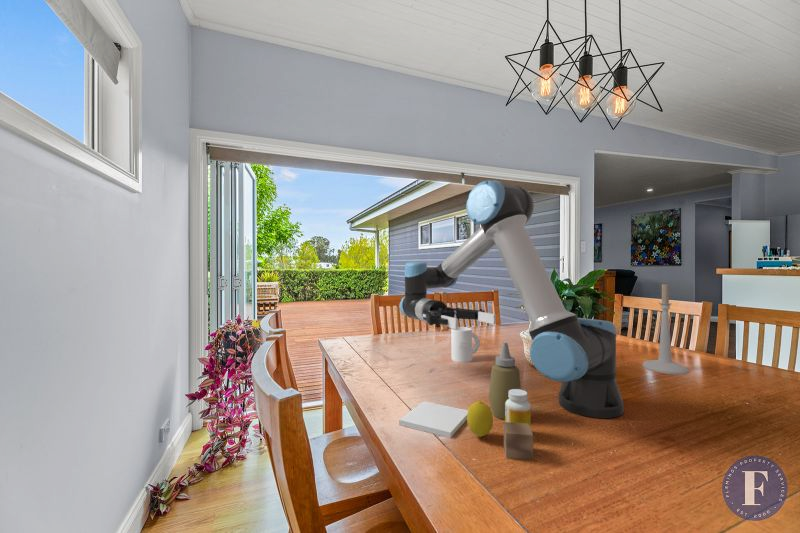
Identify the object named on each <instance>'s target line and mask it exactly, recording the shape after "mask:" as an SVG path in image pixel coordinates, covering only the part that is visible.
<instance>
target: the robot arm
mask: <svg viewBox="0 0 800 533" xmlns="http://www.w3.org/2000/svg"><path fill="white" fill-rule="evenodd" d="M465 206H466V208H465V209H466V214H467V217H468V218H469V219H470V220H471V222H473V223H474V224H476V225H480V227H479V228H478V229H476V231H474V233H472V235H470V236H469V237H468V238H467V239H466V240H465V241H464V242H463V243H461V245H460V246H458V247H457V248H456V249H455V250H453V252H452V253H450V254H449V255H448V256H447V258H445V259H444V260H443V261H442V262H441V263H439V264H438V266H433V267H432V266H431V267H429V266H428V264H427V263H426V262H420V261H419V262H418V261H416V262H414V261H413V262H410V261H409V262H407V263H405V267H404V275H403V276H404V296H403V297H402V298H401V300H400V302H399V304H398V306H399V310H400V313H402V315H403V316H405V317H407V318H410V319H415V320H419V321H422V322H425V324H428V325H429V326H434V325H435V328H440V327H441V326H443V327H447V328H450V329H451V328H453V329H458V327H459V320H460V319H461V320H462V319H463V320H477V321H478V322H482V323H487V324H491V325H496V324H497V314H494V313H490V312H486V310H483V309H482V308H479V309H469V308H461V307H460V308H459V307H456V308H454V307H449V306H447V305H446V304H445V302H443V301H442V300H436V299H433V298H432V299H431V298H427V295H428V294H427V292H428V289H438V288H439V289H441V288H449V287H453V286H454V285H456V283H457V281H458V278H459V276H460V275H461V274H462V273H464V272H465V271H466V270H467V269H468V268H470V267H471V266H472V265H474V264H475V263H476V262H477V261H478V260H480V259H481V258H482V257H483V256H484V255H486V253H488V252H489V251H490V250H492V249H493V247H496V248H497V250H498V252H499V255H500V257H501V260H502V261H503V263H504V266H505V268H506V270H507V272H508V274H509V276H510V278H511V281H512V283H513V285H514V287H515V290H516V292H517V295H518V296H519V299H520V300H521V303H522V305H523V308H524V309H525V312H526V314H527V316H528V319H529V320H530V326H529V329H528V334H529V336H530V338H531V343H530V348H529V356H530V357H529V358H530V359H531V362H532V365H533V366H534V367H535V368H534V369H536V370H537V372H538V373H540V374H541V375H542V376H544V377H545V378H546V379H549V380H551V381H553V382H559V383H562V384H561V386H560V389H559V392H558V404H559V406H561V407H562V408H564V410H567V411H569V412H571V413H574V414H577V415H581V416H584V417H590V418H597V419H612V418H618V417H622V415H623V414H624V412H625V410H624V407H625V406H624V405H625V404H624V400H623V397H622V394H621V392H620V389H619V387H618V383H617V378H616V375H617V374H616V367H617V365H616V364H617V359H616V358H617V356H616V355H617V354H616V353H617V332H616V331H617V330H616V324H614V322H612V321H608V320H601V319H595V318H594V319H593V318H583V317H577V315H576V313H573V312H571V311H568V310H566V308H565V305H564V304H563V301H562V300H561V298H560V296H559V294H558V292H557V289H556V288H555V285H554V283H553V281H552V279H551V277H550V275H549V274H548V271H547V270H546V267H545V265H544V262H542V259H541V257H540V255H539V252H538V251H537V249H536V248H535V245H534V243H533V241H532V238H531V237H530V234H529V233H528V231H527V229H526V224H528V222H529V220H530V219H531V217H532V216H533V213H534V207H535V204H534V200H533V197H532V194H530V192H529V191H528V190H526V188H523V187H521V186H518V185H513V184H508V183H507V182H502V181H501V182H500V181H499V180H484V181H480V182H479V183H477V184H476V185H475V186H474V187H473V188H472V189H471V190H470V192H469V194H468V199H467V200H466V205H465Z"/></svg>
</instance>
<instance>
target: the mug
mask: <svg viewBox="0 0 800 533" xmlns="http://www.w3.org/2000/svg"><path fill="white" fill-rule="evenodd" d="M450 330H451V332H450V339H451V340H450V342H451V343H450V344H451V345H450V348H451V350H450V353H451V354H450V355H451V356H450V357H451V360H452V361H453V362H456V363H470V362H472V361H473V355H474V354H476V352H477V351H478V350H479V348H480V345H481V339H480V338H479V335H477V334H476V333H475V332H473V329H472V328H471V327H467V326H458V329H453V328H450ZM473 340H474V345H473Z"/></svg>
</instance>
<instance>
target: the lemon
mask: <svg viewBox="0 0 800 533" xmlns="http://www.w3.org/2000/svg"><path fill="white" fill-rule="evenodd" d="M467 410H468V414H467V420H466V422H467V427H468V428H469V430H470V432H471V433H473V434H474V435H475V436H477V437H478V438H482V437H484V436H486V435H488V434H489V433H490V431H492V428H493V424H494V417H493V416H494V415H493V411H492V408H491V407H490V406H489V405H488V404H486V403H485V402H484V401H482V400H478V401H476V402H474V403H472V404H471V405H470V406H469V408H468V409H467Z"/></svg>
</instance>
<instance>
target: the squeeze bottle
mask: <svg viewBox="0 0 800 533" xmlns="http://www.w3.org/2000/svg"><path fill="white" fill-rule="evenodd" d="M520 378H521V376H520V370H519V368H518V367H517V366H516V359H515V357H514V356H511V353H510V349H509V343H507V342H502V344H501V349H500V353H499V355H497V356H495V364H494V365H493V366H492V367H491V373H490V381H489V382H490V383H489V392H488V402H489V404H490V409H491V412H492V415H493V416H495V417H497V418H499V419H502V420H505V403H506V401H507V400H508V399H509V397H508V393H509V390H511V389H520V390H522V387H521V379H520Z"/></svg>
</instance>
